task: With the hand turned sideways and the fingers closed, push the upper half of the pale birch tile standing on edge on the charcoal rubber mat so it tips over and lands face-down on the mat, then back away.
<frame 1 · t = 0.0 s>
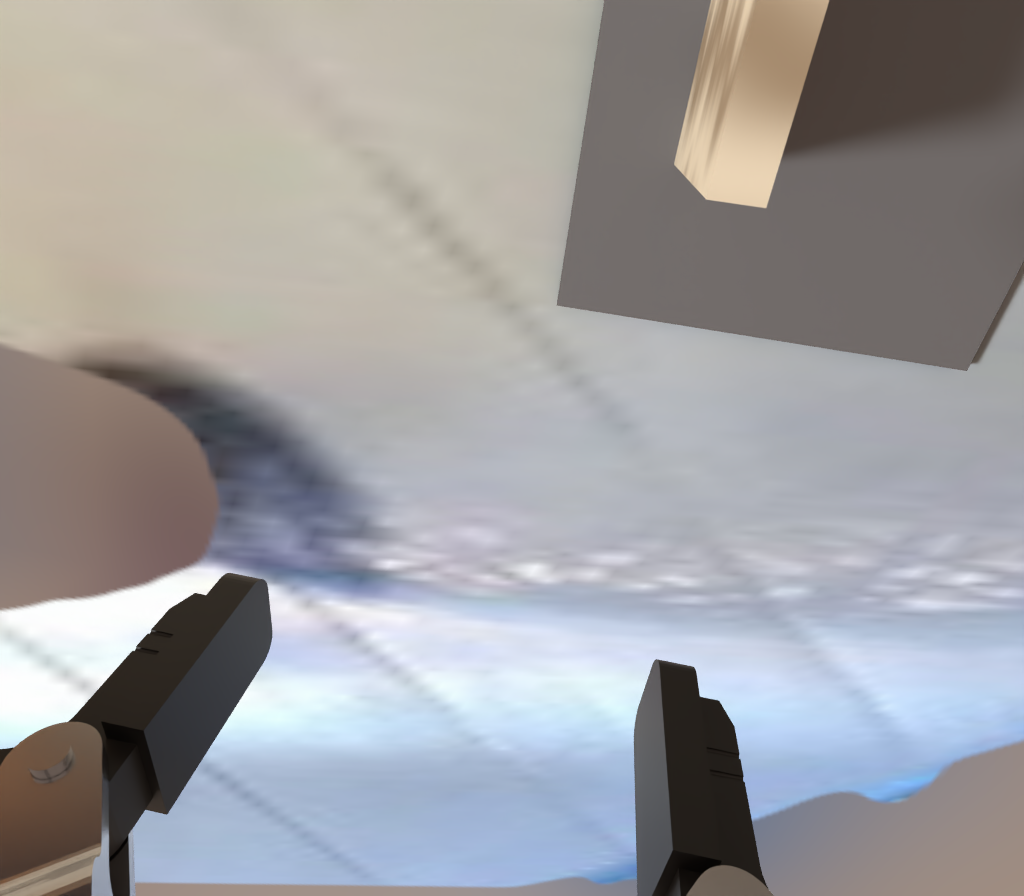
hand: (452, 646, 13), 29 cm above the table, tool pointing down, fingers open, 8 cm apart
rubber mat: (835, 85, 31), on the table
birch tile: (716, 68, 31), point 1 cm above the table, touching rubber mat
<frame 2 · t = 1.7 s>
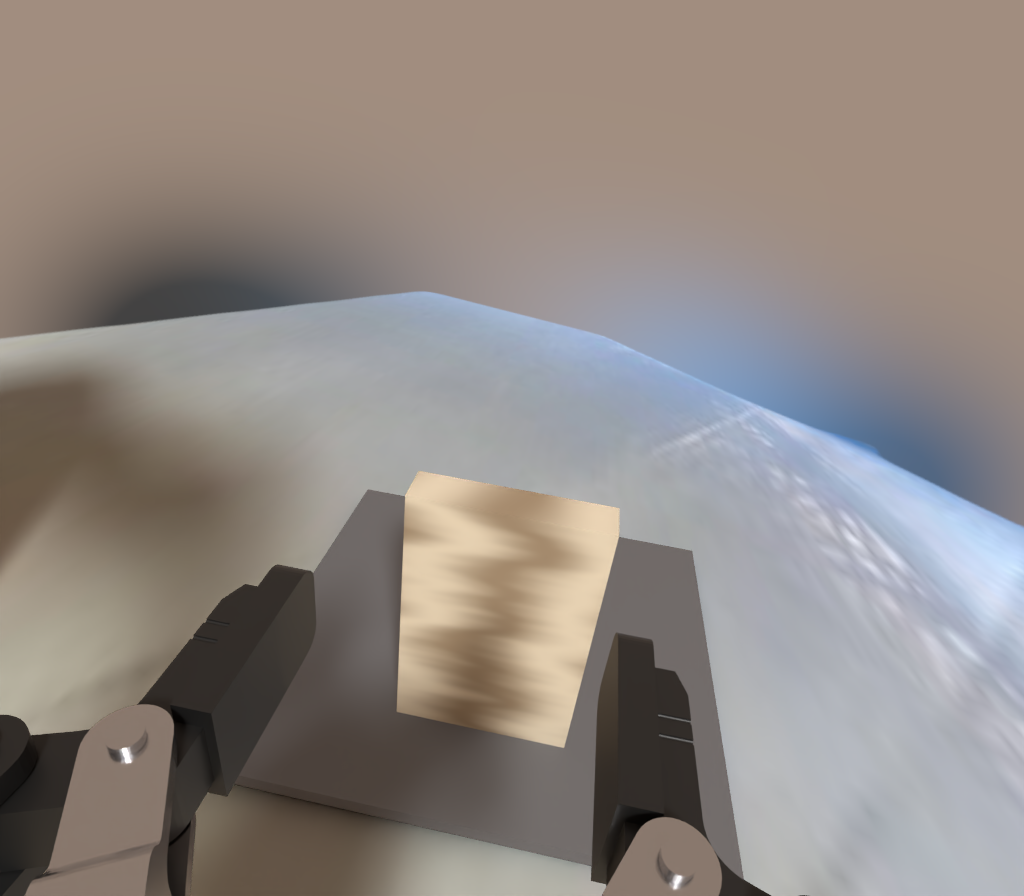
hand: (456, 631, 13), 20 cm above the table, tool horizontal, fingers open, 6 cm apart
rubber mat: (500, 640, 39), on the table
birch tile: (483, 713, 34), point 1 cm above the table, touching rubber mat
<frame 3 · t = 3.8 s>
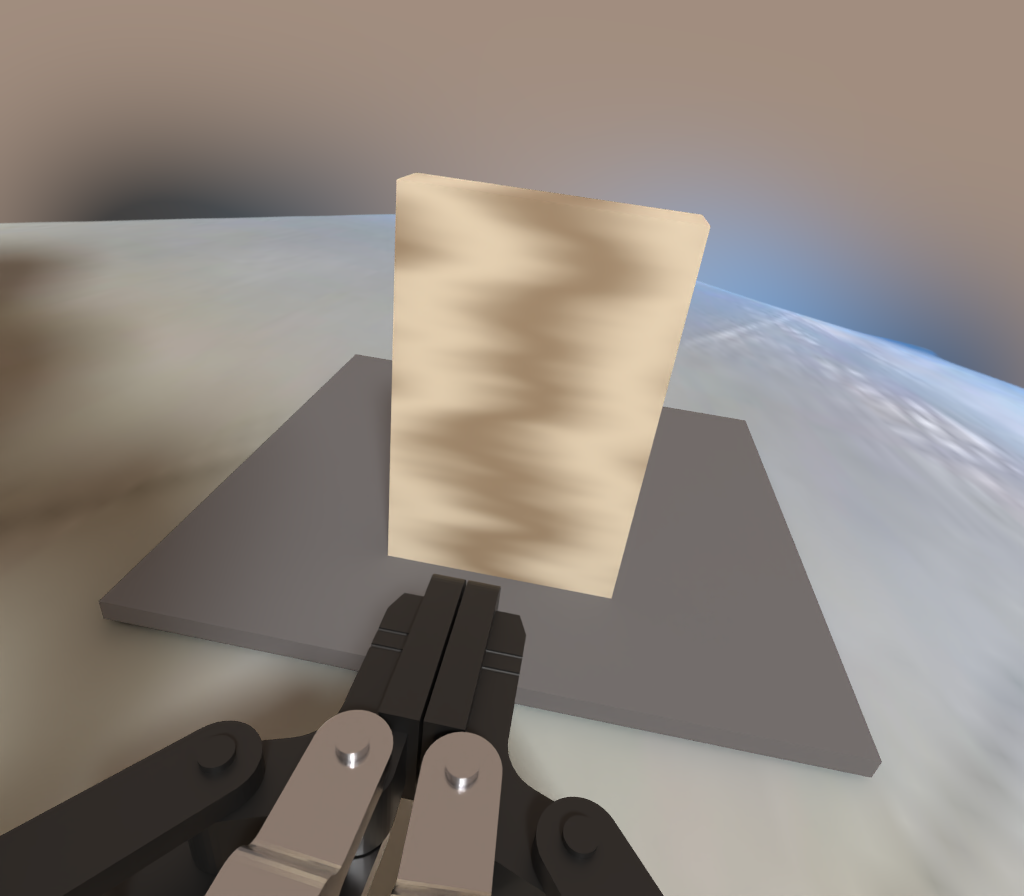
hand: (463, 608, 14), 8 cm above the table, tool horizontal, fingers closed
rubber mat: (519, 496, 31), on the table
birch tile: (502, 560, 25), point 1 cm above the table, touching rubber mat
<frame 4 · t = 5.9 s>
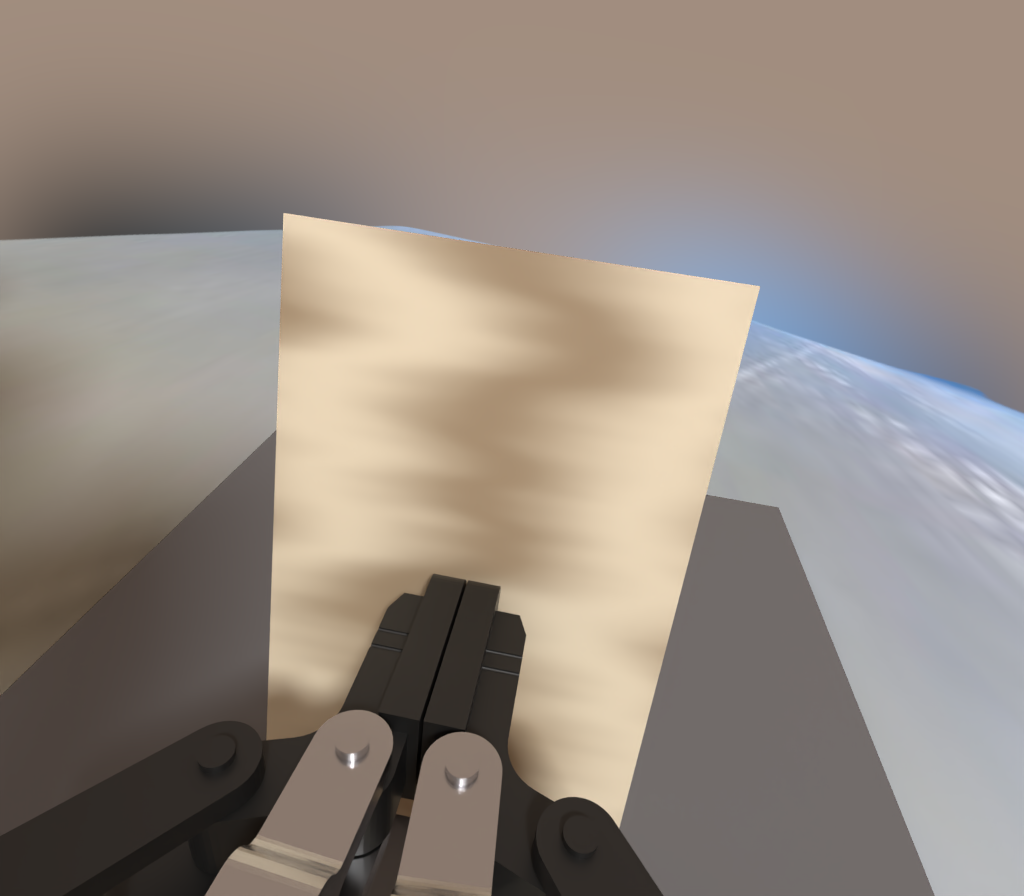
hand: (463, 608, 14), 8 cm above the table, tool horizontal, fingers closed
rubber mat: (481, 648, 22), on the table
birch tile: (443, 790, 17), point 1 cm above the table, tilted 12°, touching rubber mat
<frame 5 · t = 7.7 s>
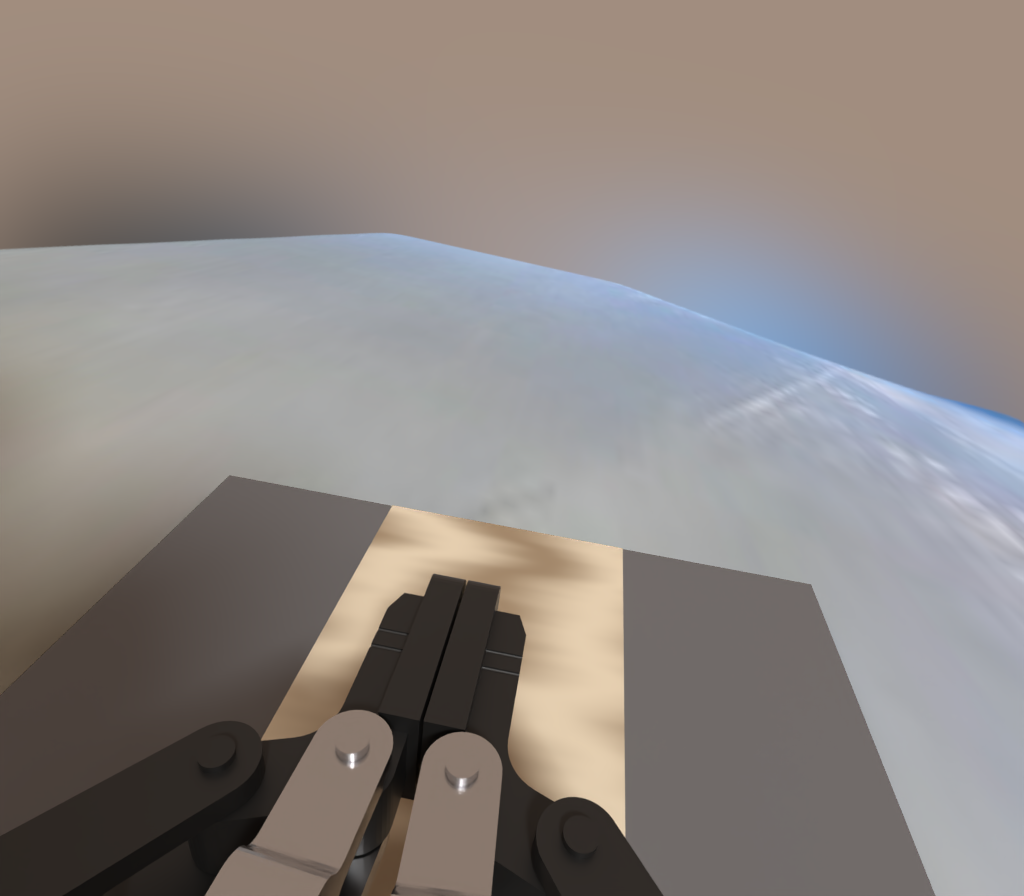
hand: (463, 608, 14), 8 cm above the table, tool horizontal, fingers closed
rubber mat: (442, 805, 17), on the table
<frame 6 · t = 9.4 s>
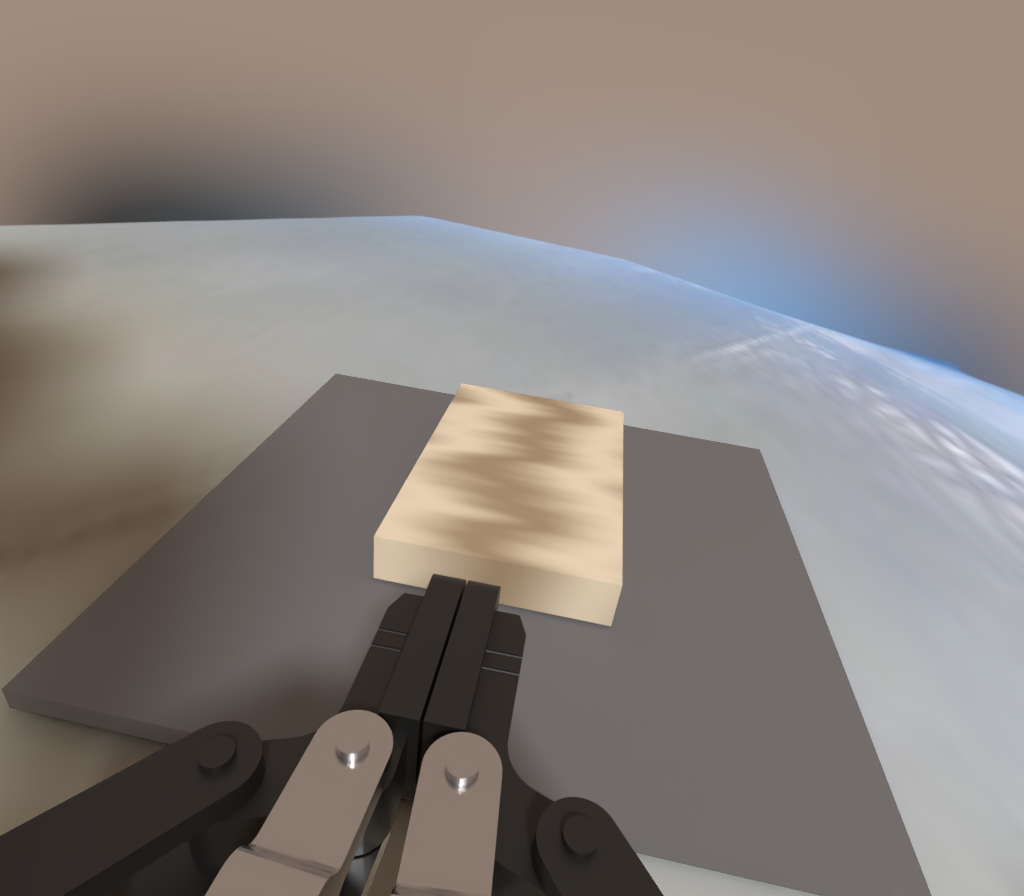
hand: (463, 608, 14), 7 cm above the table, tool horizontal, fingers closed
rubber mat: (508, 542, 28), on the table
birch tile: (493, 581, 23), point 2 cm above the table, tilted 90°, touching rubber mat
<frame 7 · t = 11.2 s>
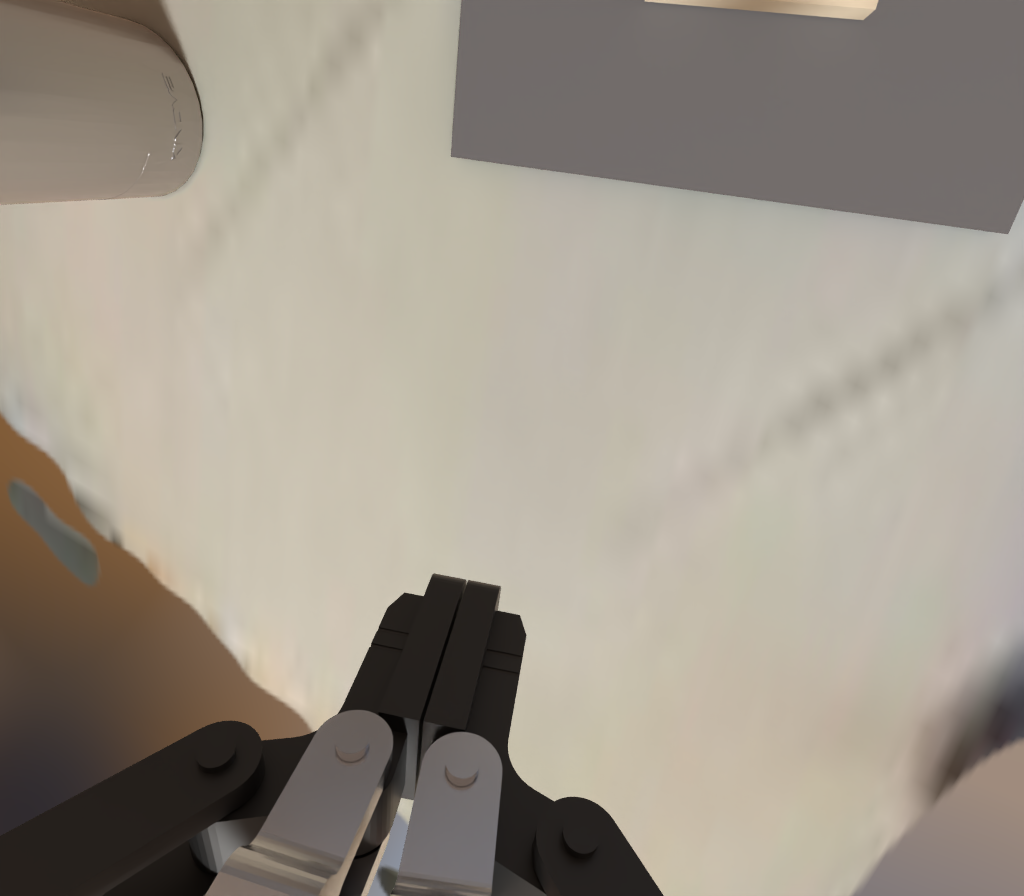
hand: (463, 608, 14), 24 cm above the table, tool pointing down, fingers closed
birch tile: (752, 5, 26), point 2 cm above the table, tilted 90°, touching rubber mat
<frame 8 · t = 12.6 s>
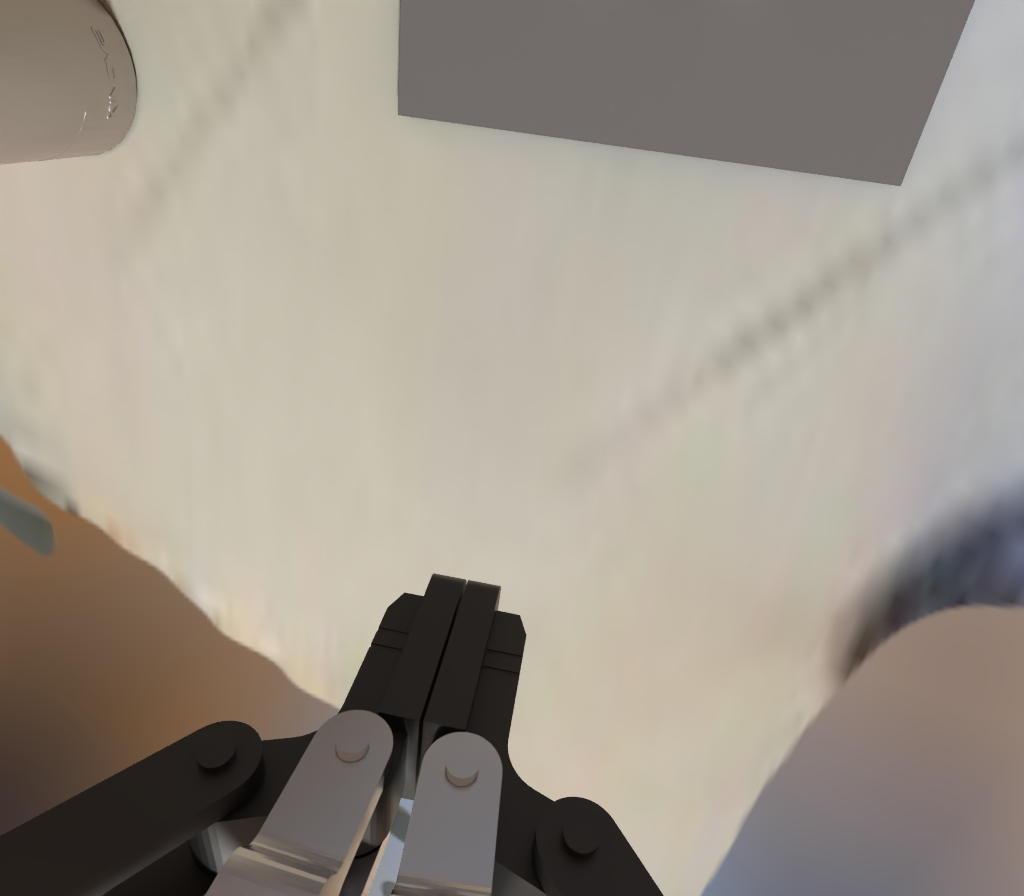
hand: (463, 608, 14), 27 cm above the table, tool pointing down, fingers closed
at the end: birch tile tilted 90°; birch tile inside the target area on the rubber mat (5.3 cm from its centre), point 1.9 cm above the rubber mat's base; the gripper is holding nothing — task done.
